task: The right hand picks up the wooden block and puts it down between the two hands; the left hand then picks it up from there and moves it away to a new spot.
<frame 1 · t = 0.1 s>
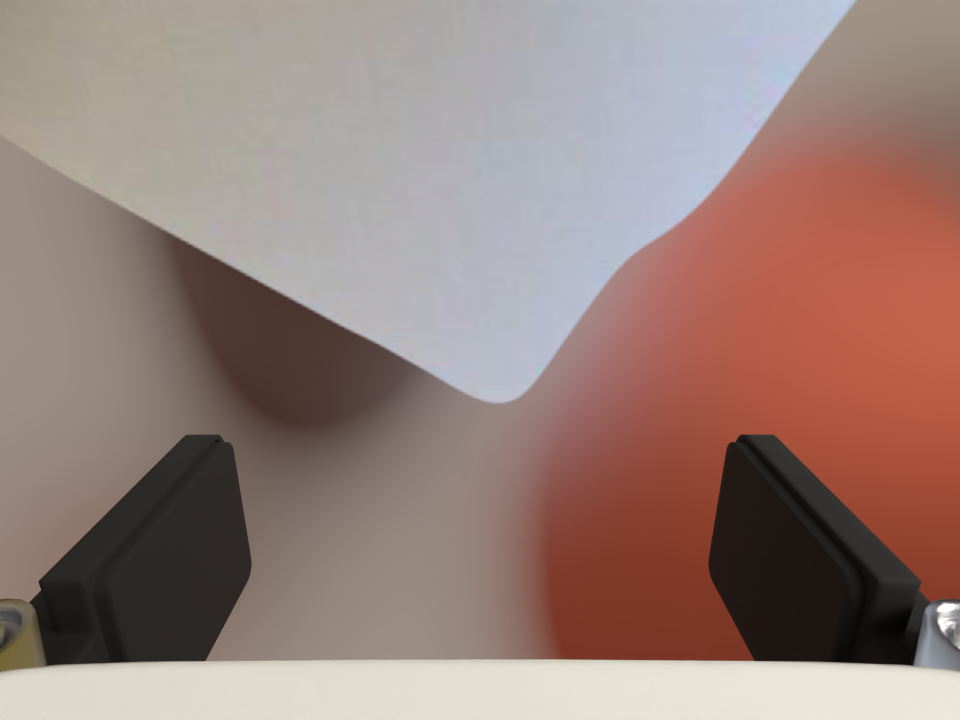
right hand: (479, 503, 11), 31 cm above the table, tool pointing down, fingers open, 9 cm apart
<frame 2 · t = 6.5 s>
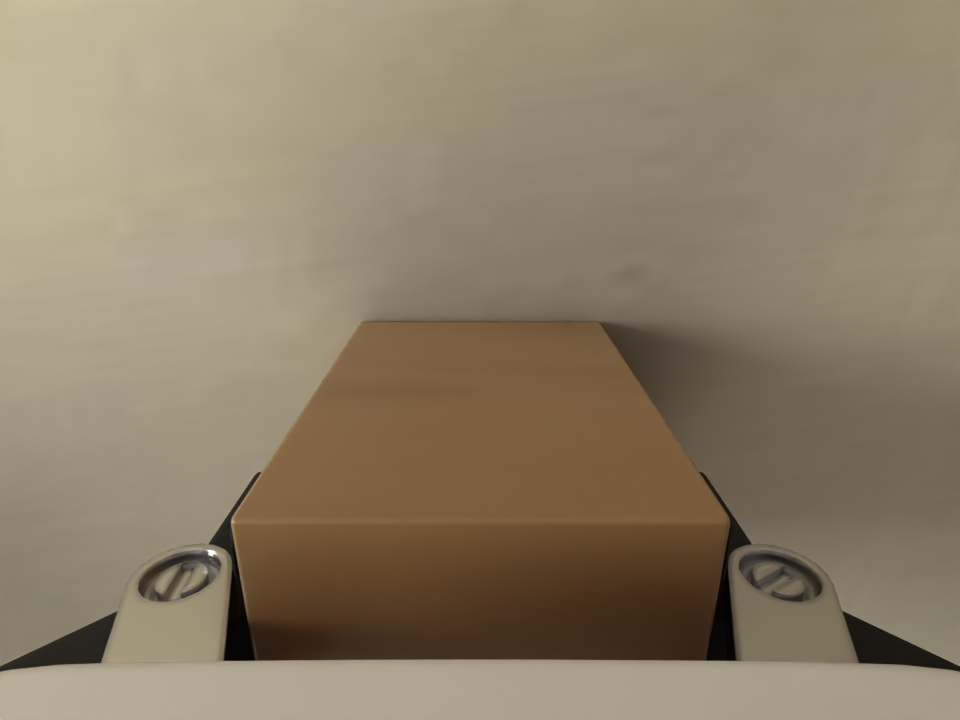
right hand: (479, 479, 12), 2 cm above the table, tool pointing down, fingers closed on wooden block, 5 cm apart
wooden block: (480, 430, 14), on the table, touching right hand
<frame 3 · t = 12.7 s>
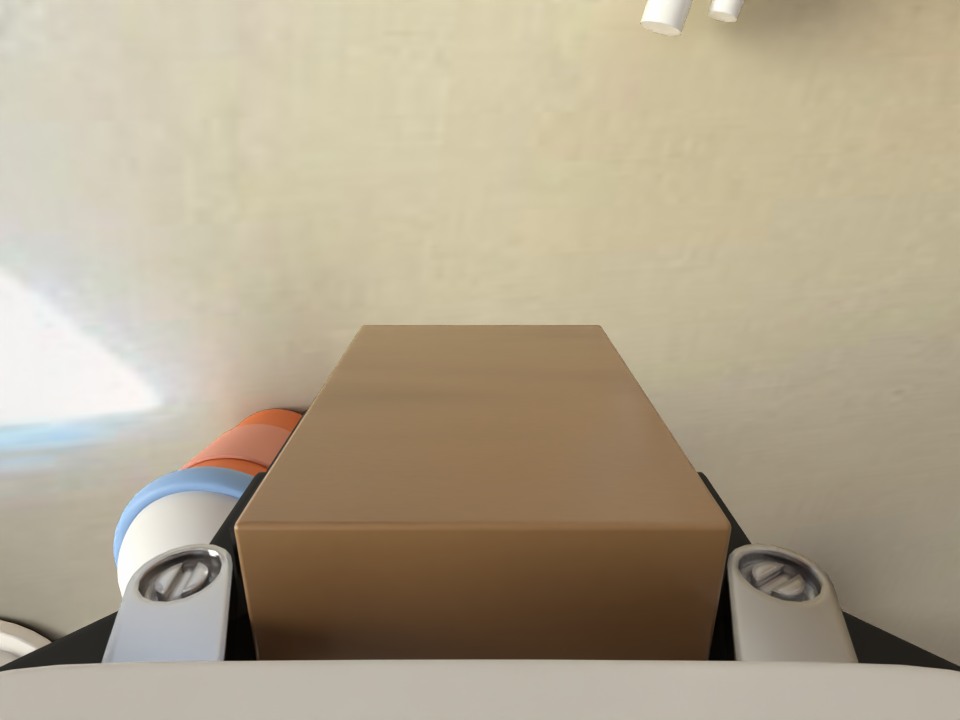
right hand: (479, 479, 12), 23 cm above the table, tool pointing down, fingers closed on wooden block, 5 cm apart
wooden block: (481, 432, 14), point 21 cm above the table, touching right hand
cup with straw: (283, 450, 37), on the table
when the right hand's fingers open (3 cm above the table, at t = 18.9 s): wooden block stays where it is, on the table.
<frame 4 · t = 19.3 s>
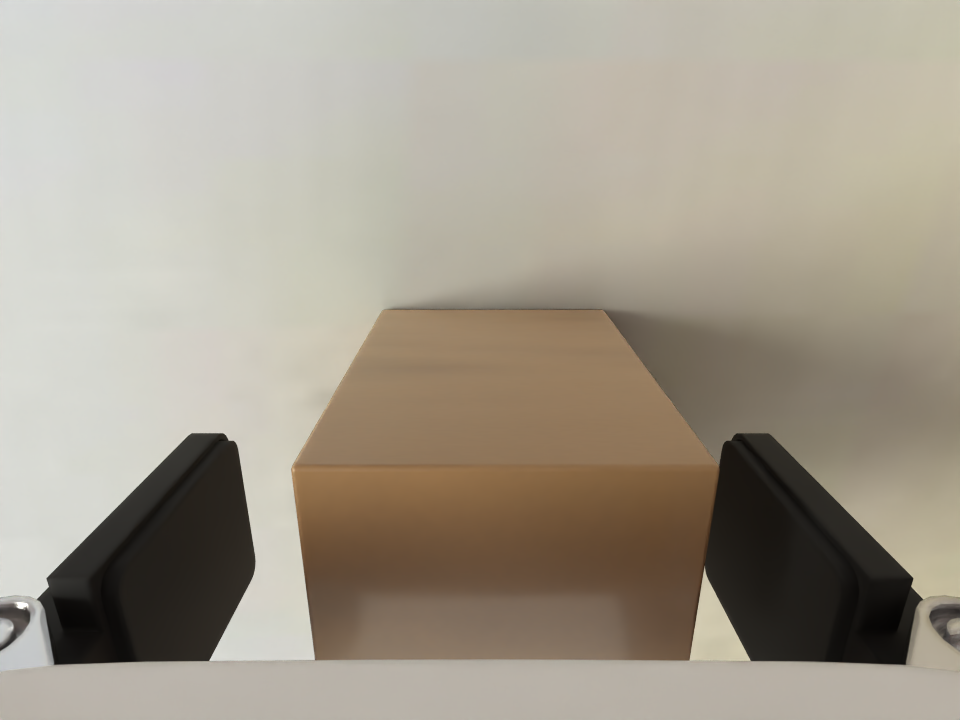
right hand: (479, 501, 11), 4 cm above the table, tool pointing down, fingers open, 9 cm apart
wooden block: (492, 411, 15), on the table
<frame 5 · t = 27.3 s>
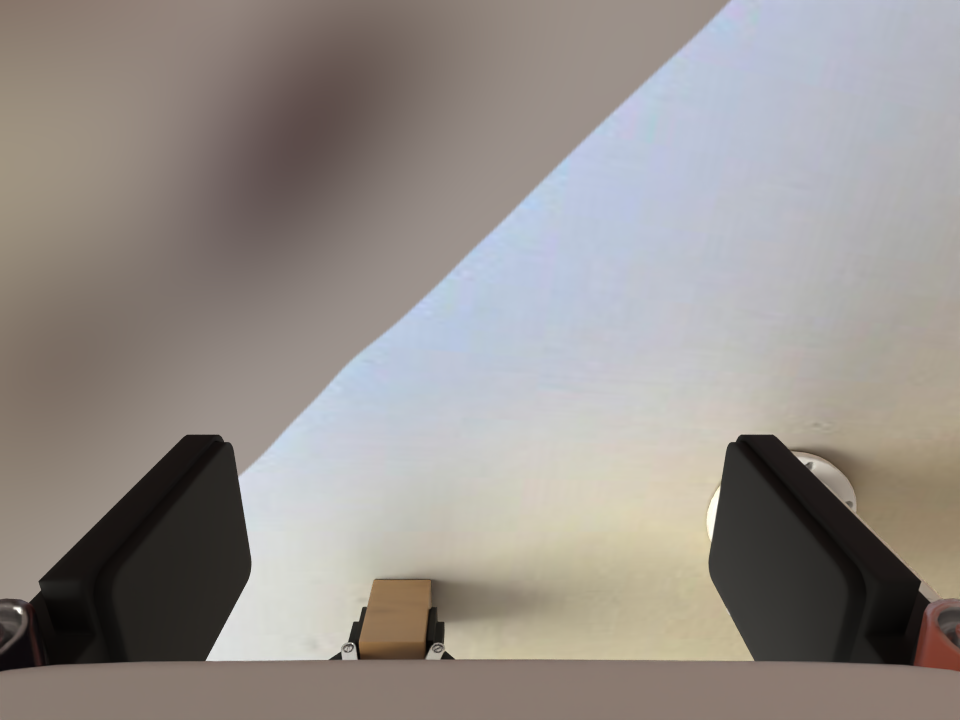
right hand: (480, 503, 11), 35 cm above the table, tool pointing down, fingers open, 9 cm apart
wooden block: (403, 602, 56), on the table, touching left hand
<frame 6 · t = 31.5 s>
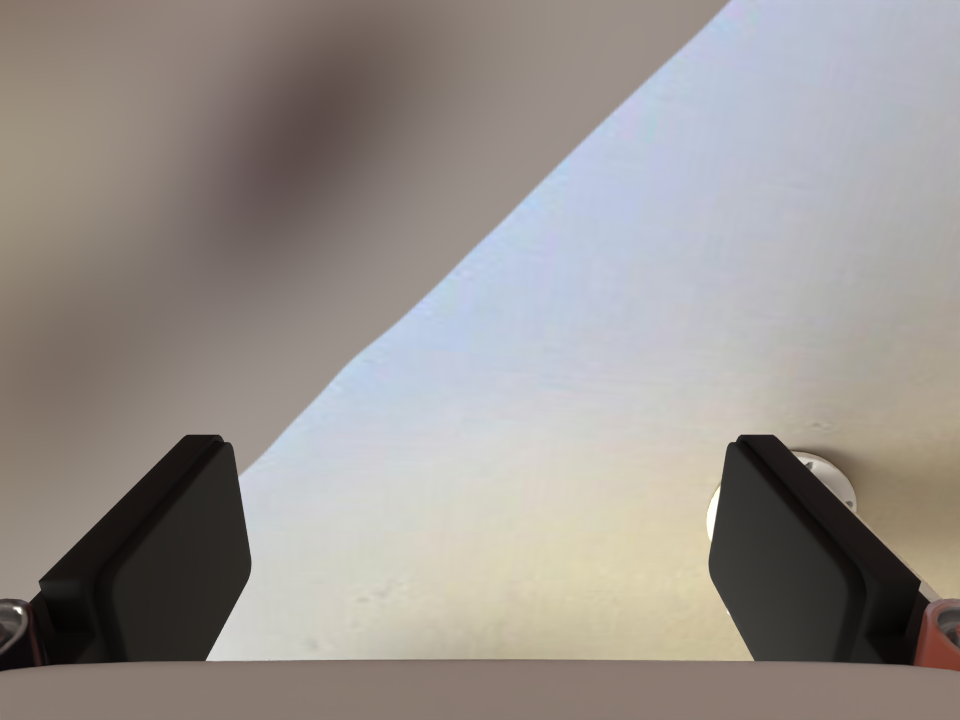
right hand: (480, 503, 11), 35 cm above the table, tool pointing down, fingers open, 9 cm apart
when the left hand's fingers open (3 cm above the table, at t = 35.9 s): wooden block stays where it is, on the table.
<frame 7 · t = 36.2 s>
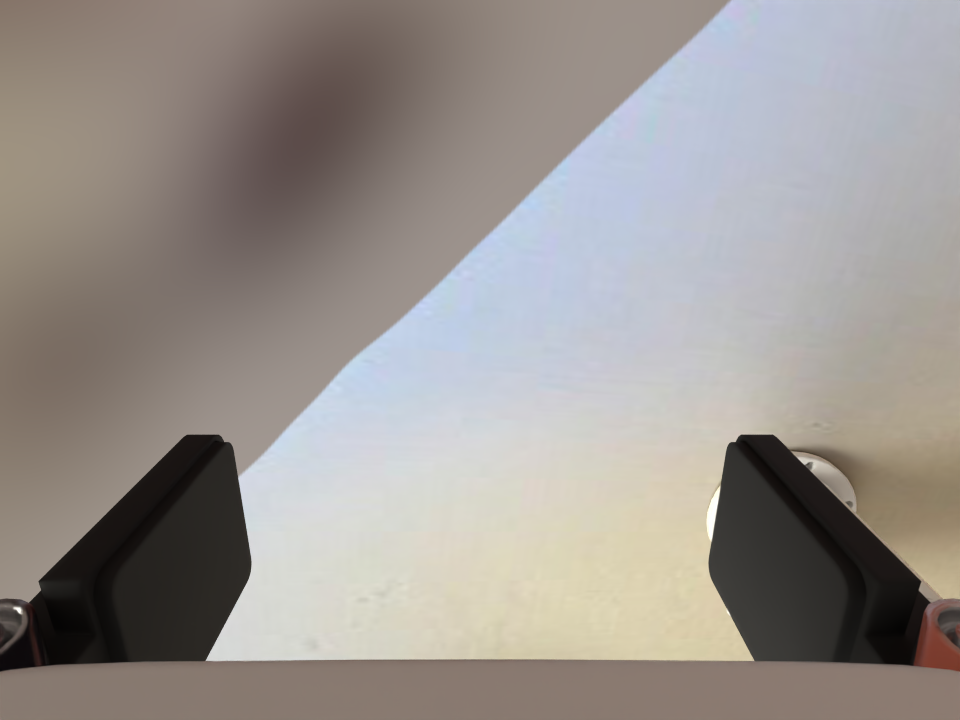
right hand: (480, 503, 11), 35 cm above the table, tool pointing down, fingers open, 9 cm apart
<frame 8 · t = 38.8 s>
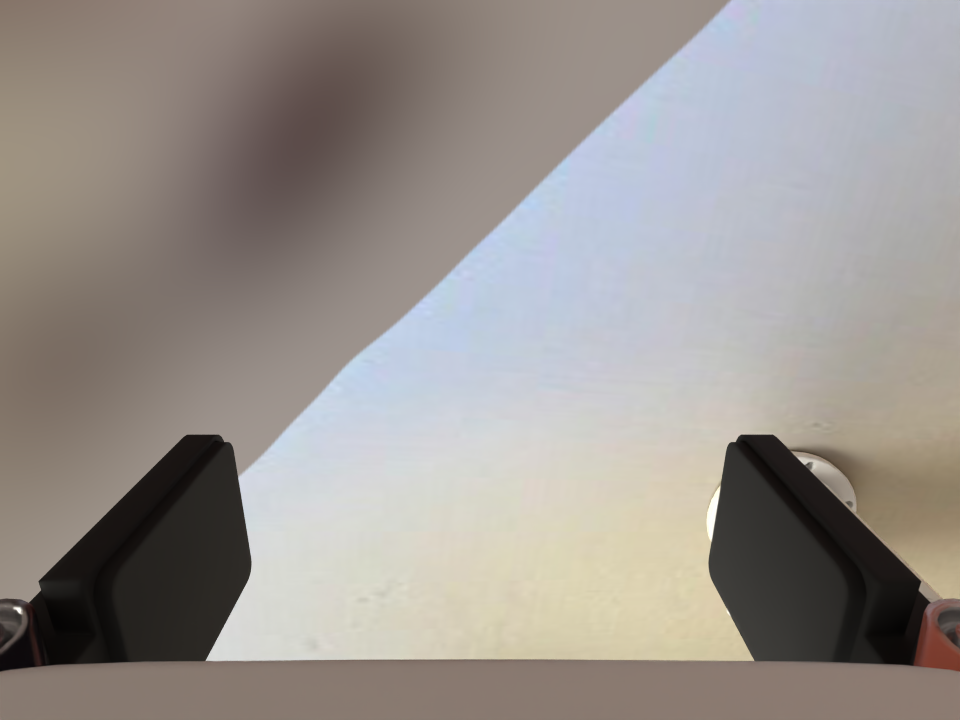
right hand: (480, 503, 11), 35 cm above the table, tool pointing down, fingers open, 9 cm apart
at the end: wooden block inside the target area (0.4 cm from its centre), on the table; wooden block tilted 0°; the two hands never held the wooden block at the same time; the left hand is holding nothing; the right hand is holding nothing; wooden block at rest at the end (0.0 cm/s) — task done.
